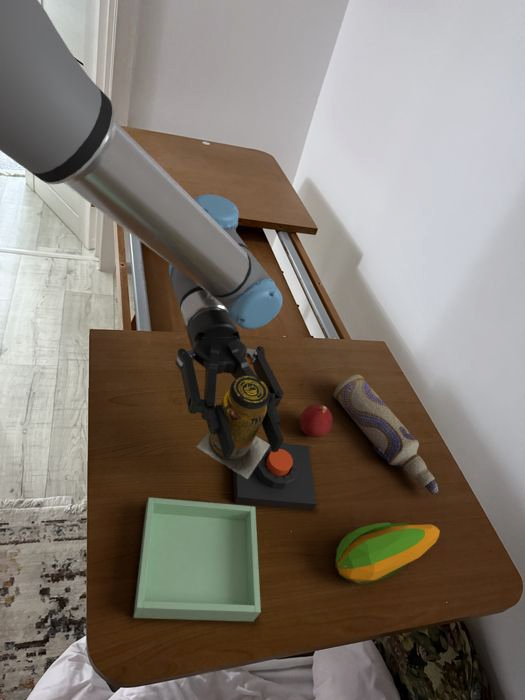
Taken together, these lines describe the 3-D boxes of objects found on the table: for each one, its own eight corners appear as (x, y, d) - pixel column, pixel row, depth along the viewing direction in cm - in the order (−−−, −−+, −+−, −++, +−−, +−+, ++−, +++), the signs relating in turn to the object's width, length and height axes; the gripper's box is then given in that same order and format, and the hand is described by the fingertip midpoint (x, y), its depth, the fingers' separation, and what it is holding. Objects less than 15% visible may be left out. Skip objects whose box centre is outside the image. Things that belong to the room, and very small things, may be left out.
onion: (296, 416, 95) (311, 388, 89) (325, 426, 95) (341, 399, 90) (291, 440, 90) (306, 412, 85) (321, 450, 91) (338, 424, 85)
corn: (336, 529, 71) (438, 495, 81) (316, 549, 77) (413, 515, 86) (362, 582, 67) (465, 540, 77) (338, 599, 73) (437, 558, 82)
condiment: (222, 415, 76) (242, 361, 68) (270, 445, 75) (296, 394, 67) (195, 447, 71) (214, 393, 63) (246, 480, 69) (272, 429, 61)
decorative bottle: (325, 400, 100) (338, 377, 95) (352, 390, 104) (365, 368, 100) (413, 510, 87) (433, 490, 82) (440, 494, 91) (459, 474, 87)
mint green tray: (133, 618, 63) (136, 607, 61) (145, 510, 74) (148, 497, 71) (253, 622, 67) (260, 612, 64) (248, 518, 77) (255, 506, 75)
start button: (266, 474, 79) (269, 468, 78) (265, 453, 82) (268, 447, 81) (290, 477, 80) (294, 471, 79) (288, 456, 83) (291, 450, 82)
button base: (233, 504, 78) (240, 491, 76) (232, 444, 86) (238, 431, 83) (312, 510, 81) (321, 498, 79) (304, 453, 89) (311, 440, 86)
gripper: (152, 306, 72) (187, 440, 58) (271, 307, 80) (328, 424, 66) (145, 343, 77) (176, 474, 63) (258, 340, 85) (309, 456, 71)
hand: (254, 448), depth 65 cm, fingers closed on condiment, 6 cm apart
